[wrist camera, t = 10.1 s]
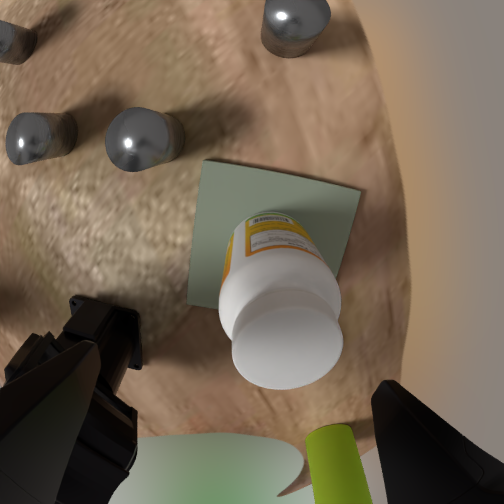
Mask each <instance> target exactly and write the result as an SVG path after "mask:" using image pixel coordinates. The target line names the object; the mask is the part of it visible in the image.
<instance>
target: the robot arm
mask: <svg viewBox="0 0 504 504" xmlns="http://www.w3.org/2000/svg"><path fill="white" fill-rule="evenodd" d="M74 301H75V302H76V303H75V302H74ZM69 303H70V309H71V314H72V317H71V318H70V319H69V320H68V322H67V323H66V324H65V325H64V327H63V331H62V333H61V334H60V335H59V336H58V338H57V339H55V338H54V336H53V335H52V333H51V332H50V331H49V332H48V333H46V334H45V335H44V336H42V335H40V336H39V335H37V334H34V333H32V334H31V335H30V336H29V338H28V339H27V340H26V341H25V342H24V344H23V345H22V346H21V347H20V349H19V350H18V351H17V352H16V354H15V355H14V356H13V358H12V359H11V361H10V362H9V363H8V365H7V366H6V367H5V369H4V371H5V379H6V381H5V383H4V385H3V387H2V388H0V504H108V502H109V500H110V498H111V496H112V495H113V493H114V491H115V490H116V489H117V487H118V486H119V485H120V483H121V482H122V481H124V480H125V478H127V477H128V476H129V470H130V469H131V467H132V466H133V464H134V462H135V460H136V456H137V414H138V411H137V410H135V409H134V408H133V407H130V406H128V405H127V404H126V403H125V402H123V401H122V400H121V399H119V398H118V397H117V396H116V393H117V391H118V389H119V386H120V384H121V381H122V379H123V377H124V374H125V372H126V370H127V368H131V369H135V370H141V369H142V366H143V360H142V348H141V333H140V316H139V313H138V312H137V311H135V310H131V309H127V308H122V307H118V306H113V305H110V304H106V303H102V302H97V301H93V300H89V299H85V298H81V297H77V296H72V297H71V298H70V300H69ZM131 315H132V316H134V317H135V318H133V317H132V316H131ZM136 364H137V365H136ZM371 406H372V414H373V422H374V431H375V438H376V444H377V448H378V453H379V458H380V463H381V468H382V473H383V478H384V483H385V489H386V495H387V502H388V504H504V463H502V462H501V461H499V460H498V459H496V458H494V457H493V456H491V455H490V454H488V453H487V452H485V451H483V450H482V449H481V448H479V447H478V446H476V445H475V444H474V443H473V442H471V441H470V440H468V439H467V438H466V437H465V436H463V435H462V434H461V433H460V432H458V431H457V430H456V429H455V428H453V427H452V426H451V425H450V424H448V423H447V422H446V421H445V420H443V419H442V418H441V417H440V416H438V415H437V414H436V413H435V412H433V411H432V410H431V409H430V408H428V407H427V406H426V405H425V404H423V403H422V402H421V401H420V400H418V399H417V398H416V397H415V396H414V395H412V394H411V393H410V392H409V391H407V390H406V389H405V388H403V387H402V386H401V385H400V384H399V383H397V382H396V381H395V380H383V381H382V382H381V383H380V385H379V386H378V388H377V389H376V391H375V392H374V394H373V395H372V398H371Z"/></svg>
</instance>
